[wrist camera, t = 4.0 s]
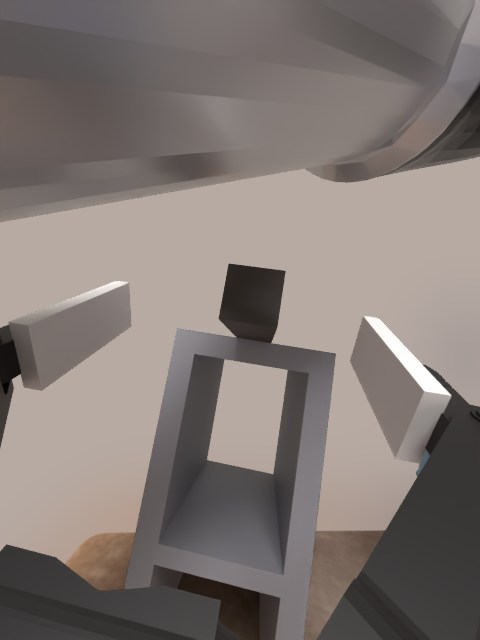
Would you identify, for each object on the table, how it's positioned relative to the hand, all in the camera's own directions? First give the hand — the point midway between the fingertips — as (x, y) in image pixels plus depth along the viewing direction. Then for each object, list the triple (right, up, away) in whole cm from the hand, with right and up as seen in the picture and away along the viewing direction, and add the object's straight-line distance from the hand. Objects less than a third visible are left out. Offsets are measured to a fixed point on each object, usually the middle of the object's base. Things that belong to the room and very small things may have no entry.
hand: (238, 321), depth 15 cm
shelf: (-3, -33, +13) cm, 35 cm away
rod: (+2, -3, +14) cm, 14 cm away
